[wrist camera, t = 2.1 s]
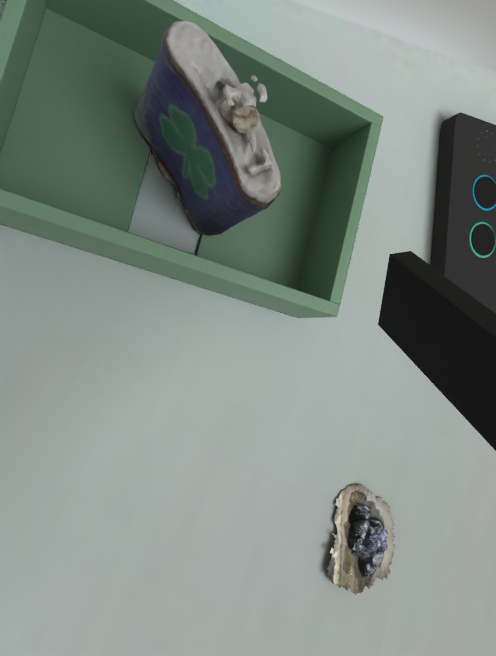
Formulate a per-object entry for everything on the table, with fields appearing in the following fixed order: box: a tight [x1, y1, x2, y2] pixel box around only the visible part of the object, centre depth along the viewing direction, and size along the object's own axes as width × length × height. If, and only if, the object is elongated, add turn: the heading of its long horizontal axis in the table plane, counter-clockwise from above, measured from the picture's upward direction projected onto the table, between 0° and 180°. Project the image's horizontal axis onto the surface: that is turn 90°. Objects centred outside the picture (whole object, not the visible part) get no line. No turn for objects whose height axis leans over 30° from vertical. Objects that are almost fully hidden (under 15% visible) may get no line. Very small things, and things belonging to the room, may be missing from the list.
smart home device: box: [431, 113, 496, 313], centre depth 39 cm, size 8×2×20 cm
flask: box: [134, 21, 282, 238], centre depth 25 cm, size 9×3×11 cm, turn 31°
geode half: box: [327, 484, 395, 594], centre depth 35 cm, size 7×8×2 cm
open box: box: [0, 0, 383, 318], centre depth 28 cm, size 22×14×5 cm, turn 74°
